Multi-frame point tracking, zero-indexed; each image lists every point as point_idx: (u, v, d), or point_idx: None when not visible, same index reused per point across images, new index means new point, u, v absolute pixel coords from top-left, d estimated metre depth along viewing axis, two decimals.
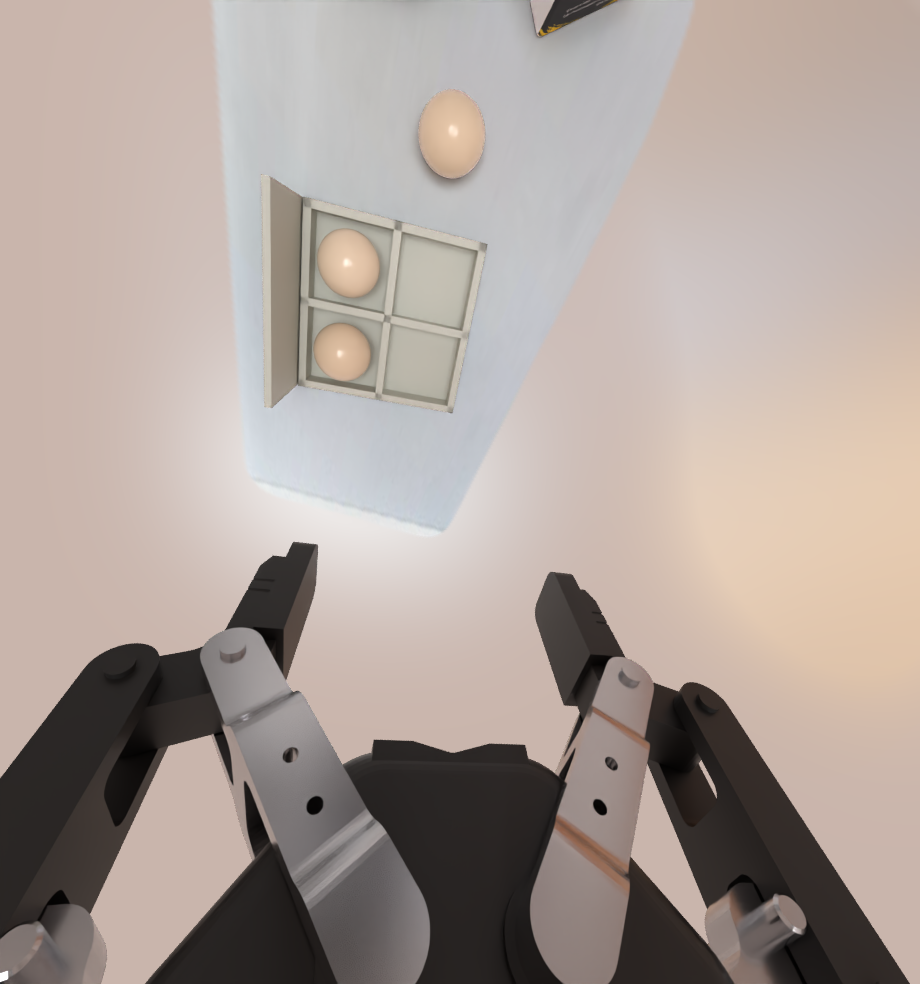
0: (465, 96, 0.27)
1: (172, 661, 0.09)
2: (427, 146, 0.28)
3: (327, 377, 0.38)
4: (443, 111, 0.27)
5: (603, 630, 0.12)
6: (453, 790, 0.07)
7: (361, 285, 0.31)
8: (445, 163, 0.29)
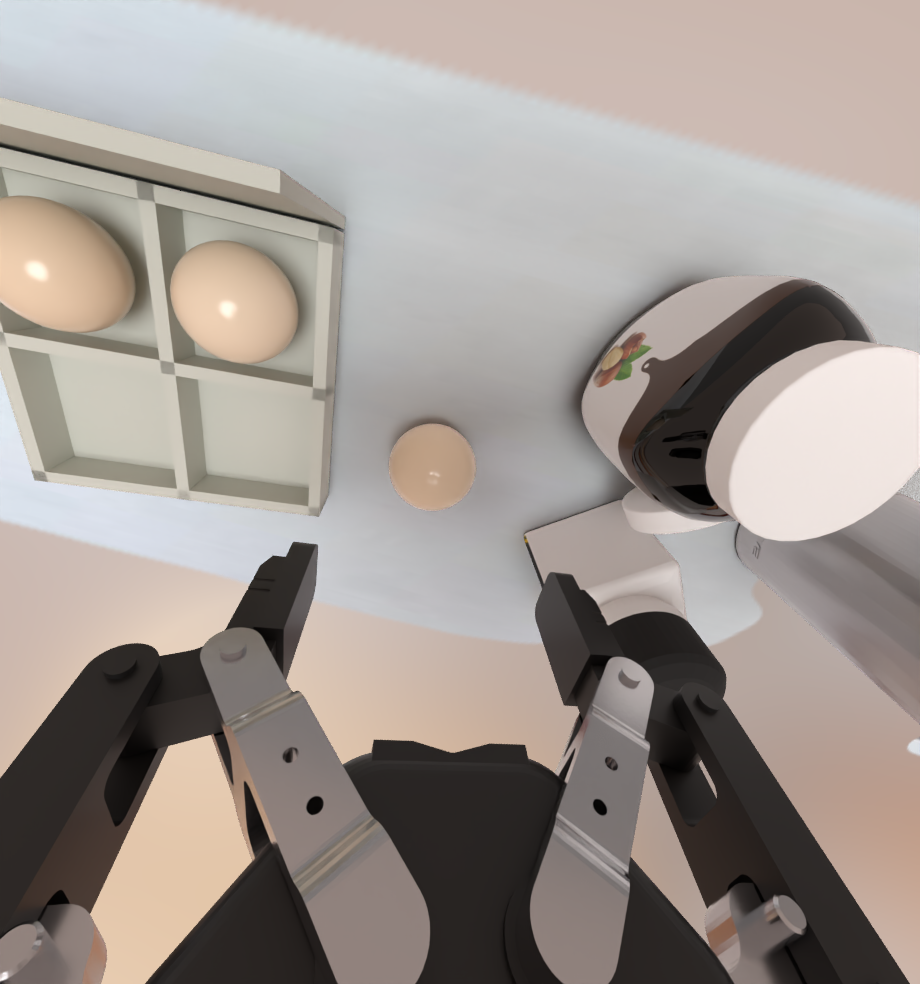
0: (466, 491, 0.22)
1: (172, 661, 0.09)
2: (414, 446, 0.20)
3: None
4: (448, 472, 0.20)
5: (603, 630, 0.12)
6: (453, 790, 0.07)
7: (192, 335, 0.16)
8: (397, 470, 0.21)
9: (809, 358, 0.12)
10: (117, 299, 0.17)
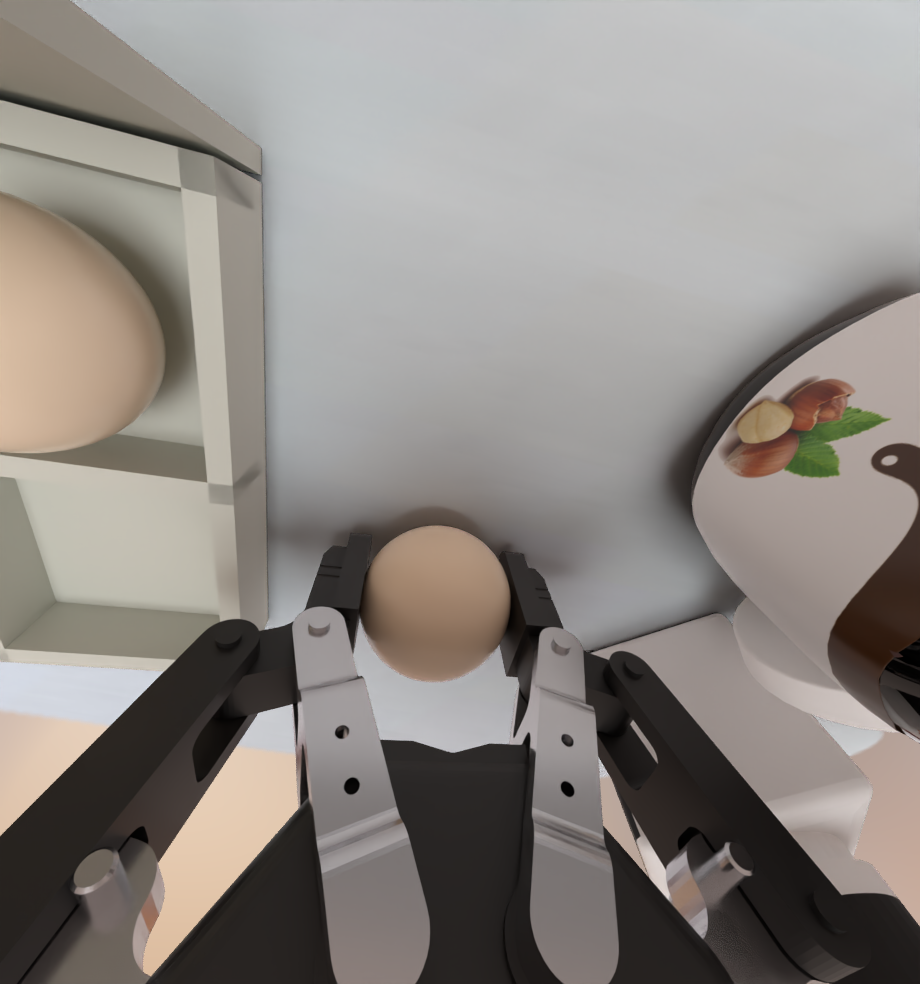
0: (495, 649, 0.12)
1: (265, 636, 0.10)
2: (403, 587, 0.11)
3: None
4: (466, 635, 0.11)
5: (546, 605, 0.13)
6: (453, 790, 0.07)
7: None
8: (372, 625, 0.11)
9: None
10: None
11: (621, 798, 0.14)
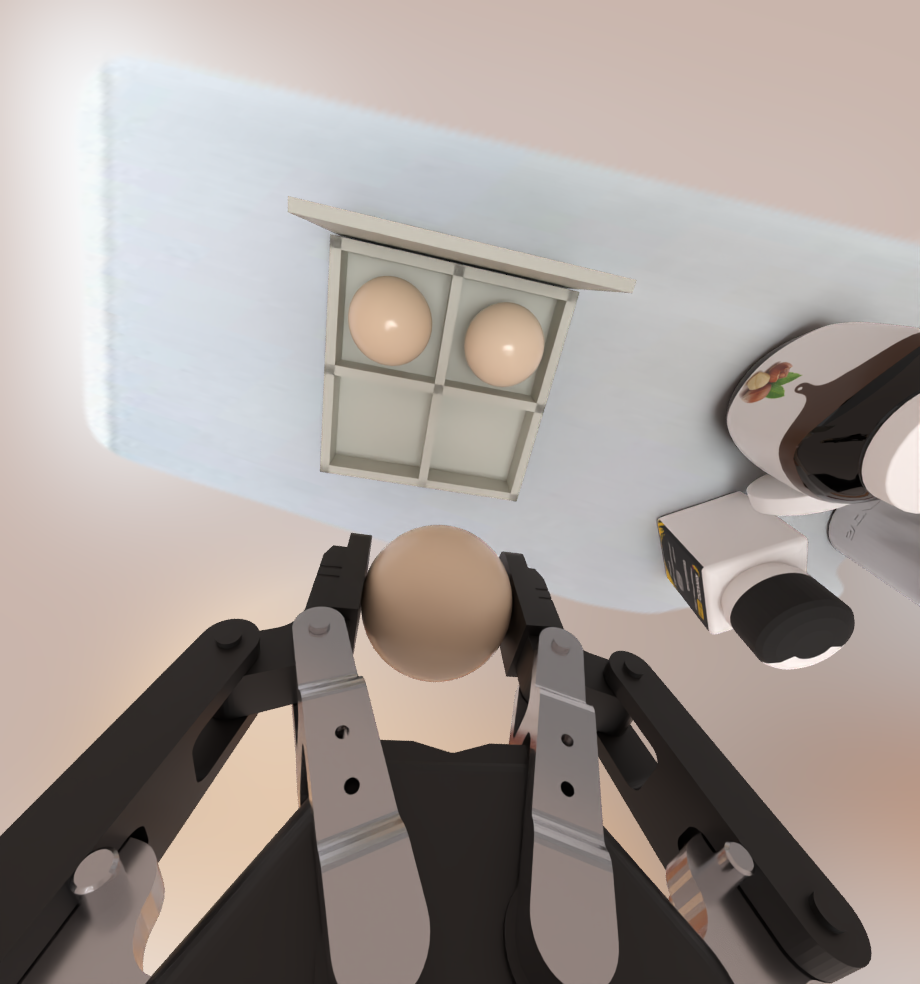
0: None
1: (265, 636, 0.10)
2: (405, 587, 0.11)
3: (347, 280, 0.24)
4: (468, 635, 0.11)
5: (546, 605, 0.13)
6: (453, 790, 0.07)
7: (482, 368, 0.23)
8: (373, 624, 0.11)
9: None
10: (427, 343, 0.24)
11: (692, 559, 0.29)
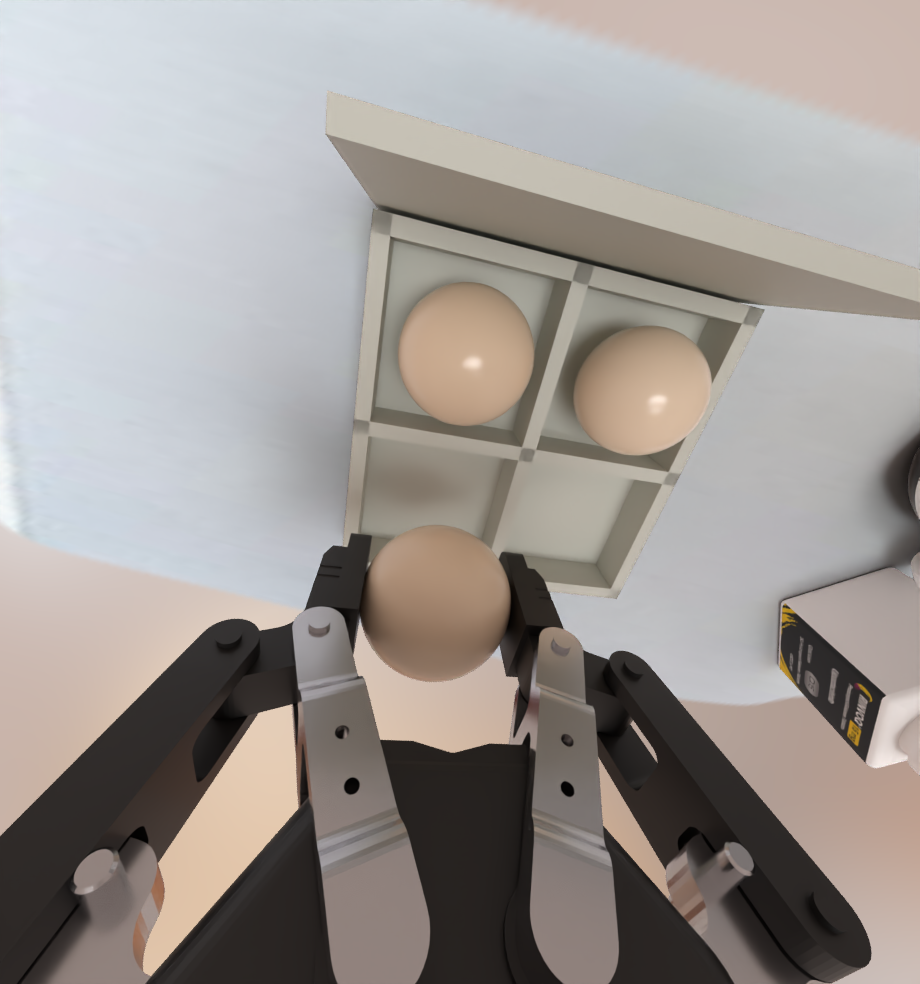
0: (495, 649, 0.12)
1: (265, 636, 0.10)
2: (403, 587, 0.11)
3: (390, 287, 0.15)
4: (466, 635, 0.11)
5: (546, 605, 0.13)
6: (453, 790, 0.07)
7: (614, 433, 0.14)
8: (372, 624, 0.11)
9: None
10: None
11: (861, 678, 0.21)
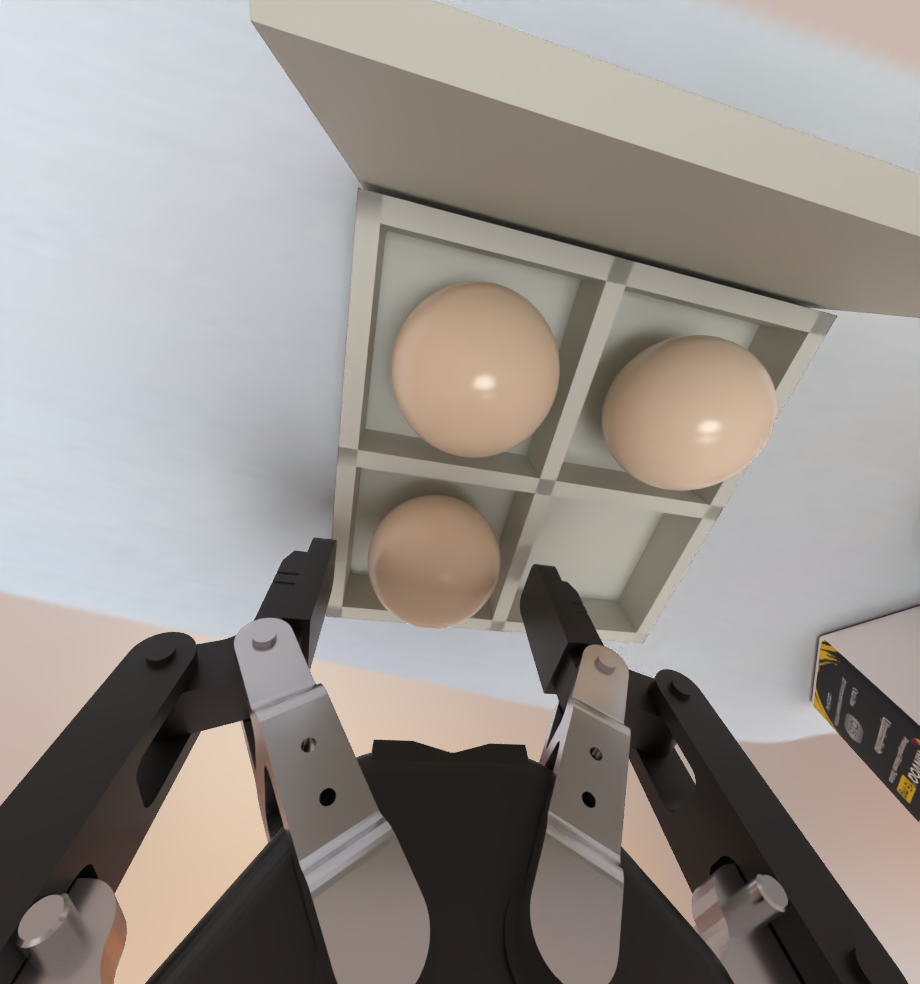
0: (486, 601, 0.14)
1: (206, 649, 0.09)
2: (406, 542, 0.13)
3: (382, 287, 0.12)
4: (460, 583, 0.13)
5: (583, 620, 0.13)
6: (453, 790, 0.07)
7: (656, 467, 0.12)
8: (379, 576, 0.13)
9: None
10: None
11: None
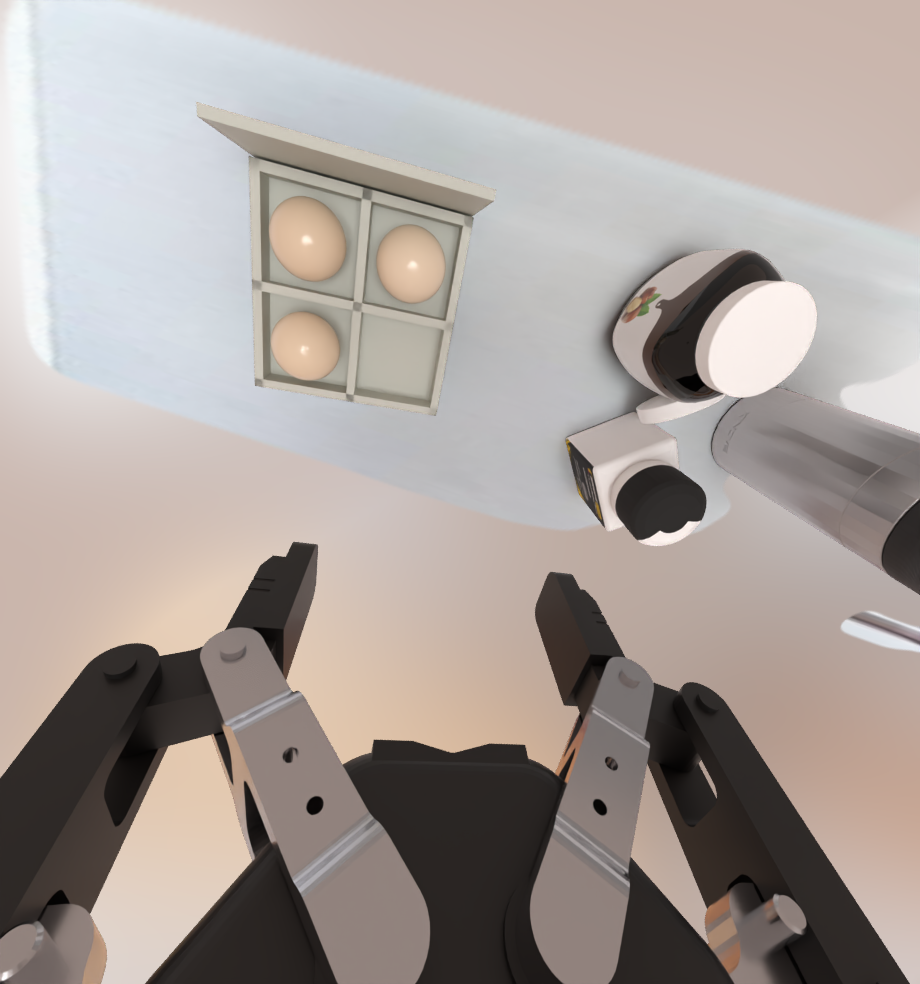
0: (329, 362, 0.29)
1: (172, 661, 0.09)
2: (284, 323, 0.28)
3: (270, 204, 0.27)
4: (309, 341, 0.28)
5: (603, 630, 0.12)
6: (453, 790, 0.07)
7: (390, 282, 0.27)
8: (273, 342, 0.28)
9: (748, 288, 0.24)
10: (342, 260, 0.27)
11: (587, 463, 0.34)
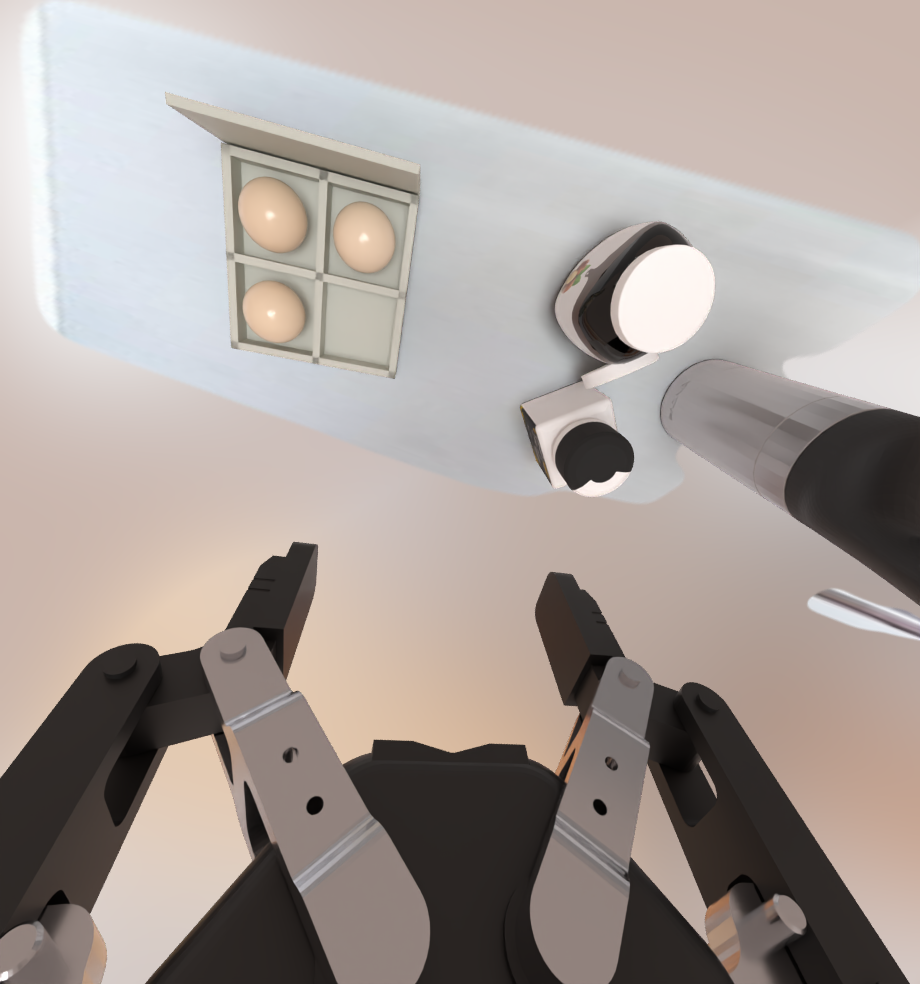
0: (293, 325, 0.33)
1: (173, 661, 0.09)
2: (252, 289, 0.32)
3: (242, 186, 0.31)
4: (274, 305, 0.32)
5: (603, 630, 0.12)
6: (453, 790, 0.07)
7: (344, 252, 0.31)
8: (244, 306, 0.32)
9: (649, 252, 0.27)
10: (303, 233, 0.31)
11: (532, 423, 0.38)
